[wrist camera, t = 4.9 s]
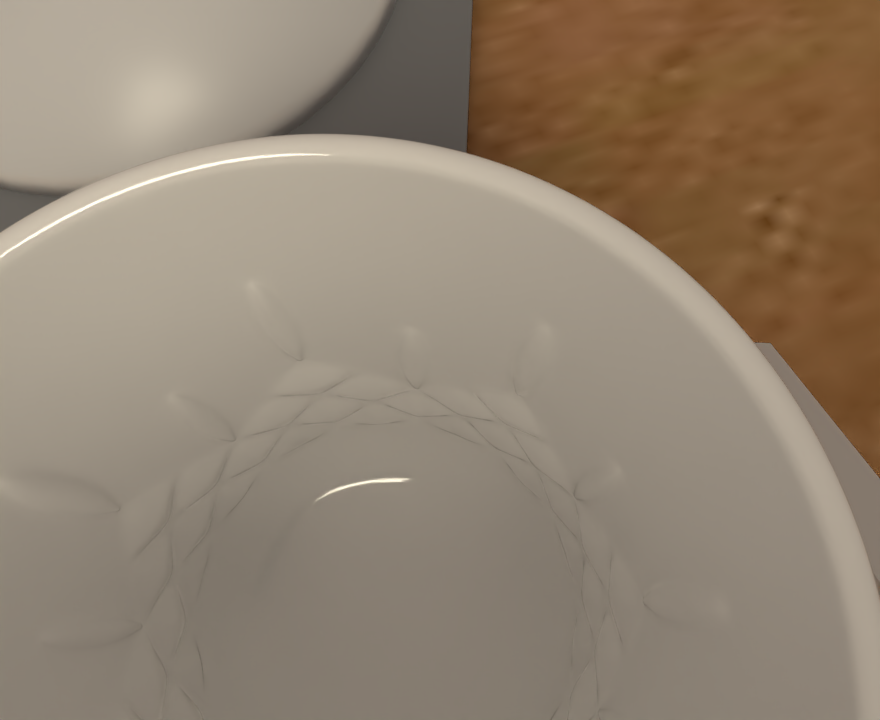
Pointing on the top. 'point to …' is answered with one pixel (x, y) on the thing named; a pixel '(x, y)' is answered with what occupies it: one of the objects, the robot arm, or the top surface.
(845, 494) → the robot arm
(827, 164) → the top surface
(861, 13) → the top surface
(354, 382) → the white cup
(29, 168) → the scale
